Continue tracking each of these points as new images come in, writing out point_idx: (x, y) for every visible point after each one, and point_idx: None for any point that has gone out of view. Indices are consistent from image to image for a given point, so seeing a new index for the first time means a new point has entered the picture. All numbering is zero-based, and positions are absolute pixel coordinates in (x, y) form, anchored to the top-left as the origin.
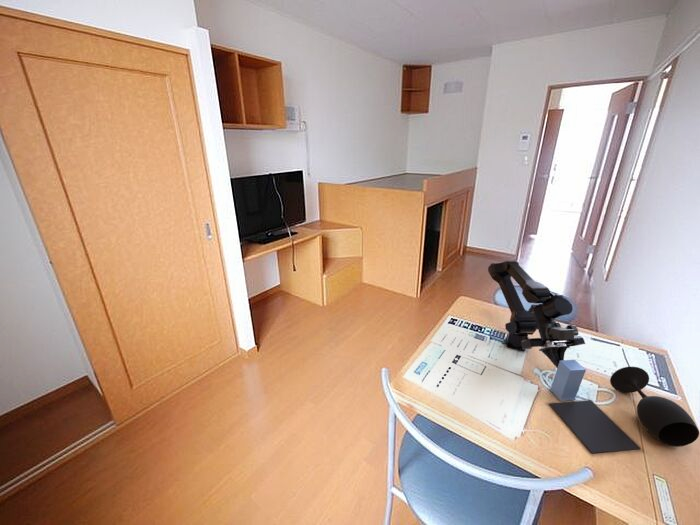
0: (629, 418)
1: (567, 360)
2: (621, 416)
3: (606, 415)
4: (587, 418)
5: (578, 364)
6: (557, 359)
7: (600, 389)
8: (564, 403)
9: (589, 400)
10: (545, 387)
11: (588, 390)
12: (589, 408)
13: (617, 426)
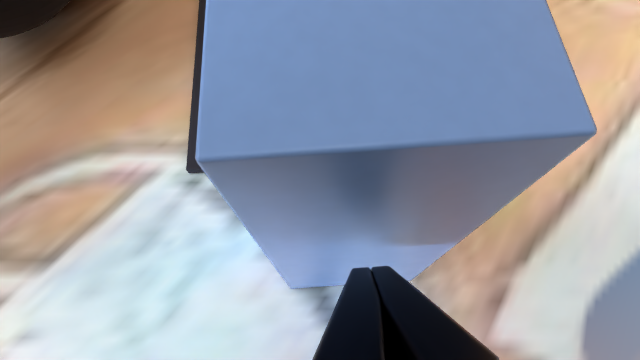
0: (81, 64)
1: (402, 129)
2: (110, 74)
3: (196, 68)
4: None
5: (244, 16)
6: (468, 353)
7: (9, 277)
8: None
9: (198, 167)
10: None
11: (111, 269)
12: None
13: (201, 14)
